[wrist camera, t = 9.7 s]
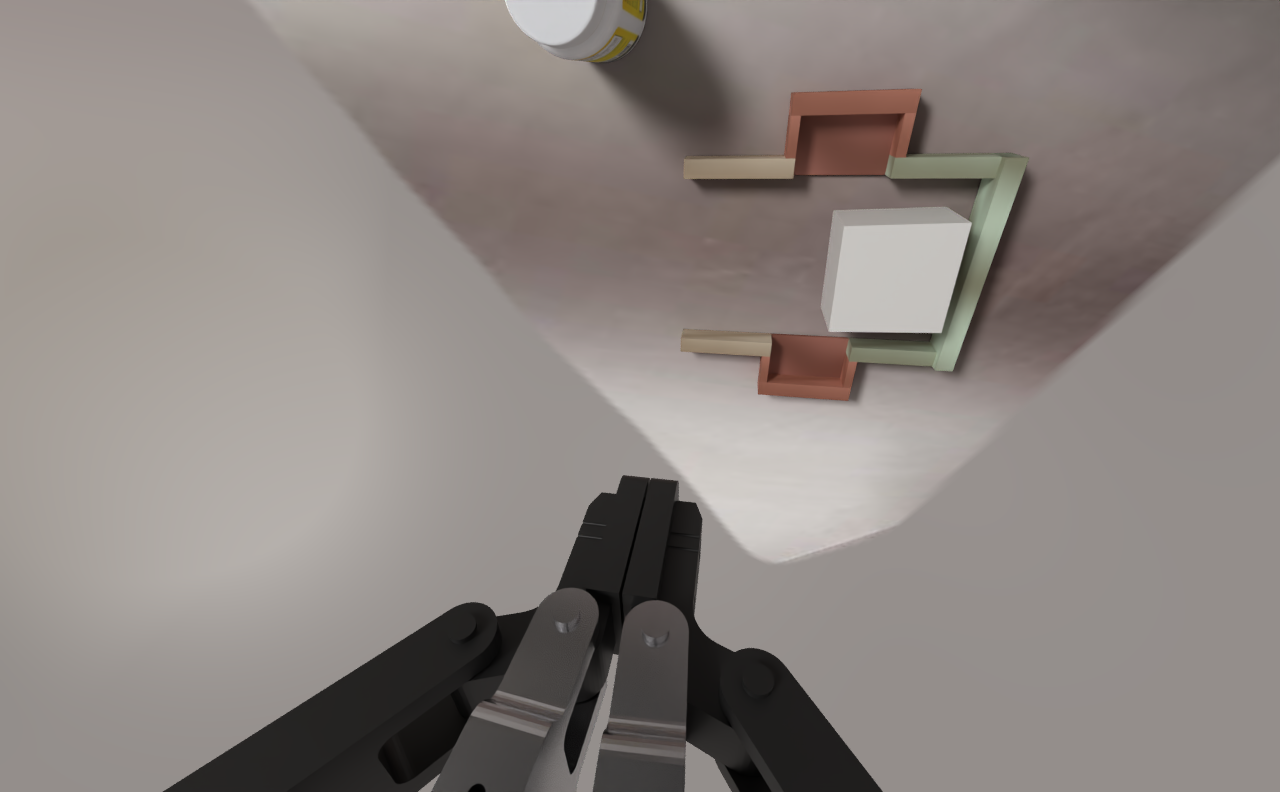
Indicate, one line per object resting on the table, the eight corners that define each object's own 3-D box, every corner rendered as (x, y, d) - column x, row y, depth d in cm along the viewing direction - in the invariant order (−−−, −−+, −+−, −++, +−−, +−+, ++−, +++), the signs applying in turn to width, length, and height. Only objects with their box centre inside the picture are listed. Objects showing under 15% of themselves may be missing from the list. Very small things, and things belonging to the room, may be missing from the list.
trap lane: (687, 95, 27) (683, 96, 25) (1034, 85, 24) (1055, 85, 22) (682, 378, 37) (679, 392, 35) (928, 395, 34) (938, 411, 32)
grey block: (833, 209, 29) (844, 226, 25) (945, 206, 28) (971, 222, 24) (820, 305, 32) (828, 331, 29) (920, 306, 31) (941, 333, 27)
